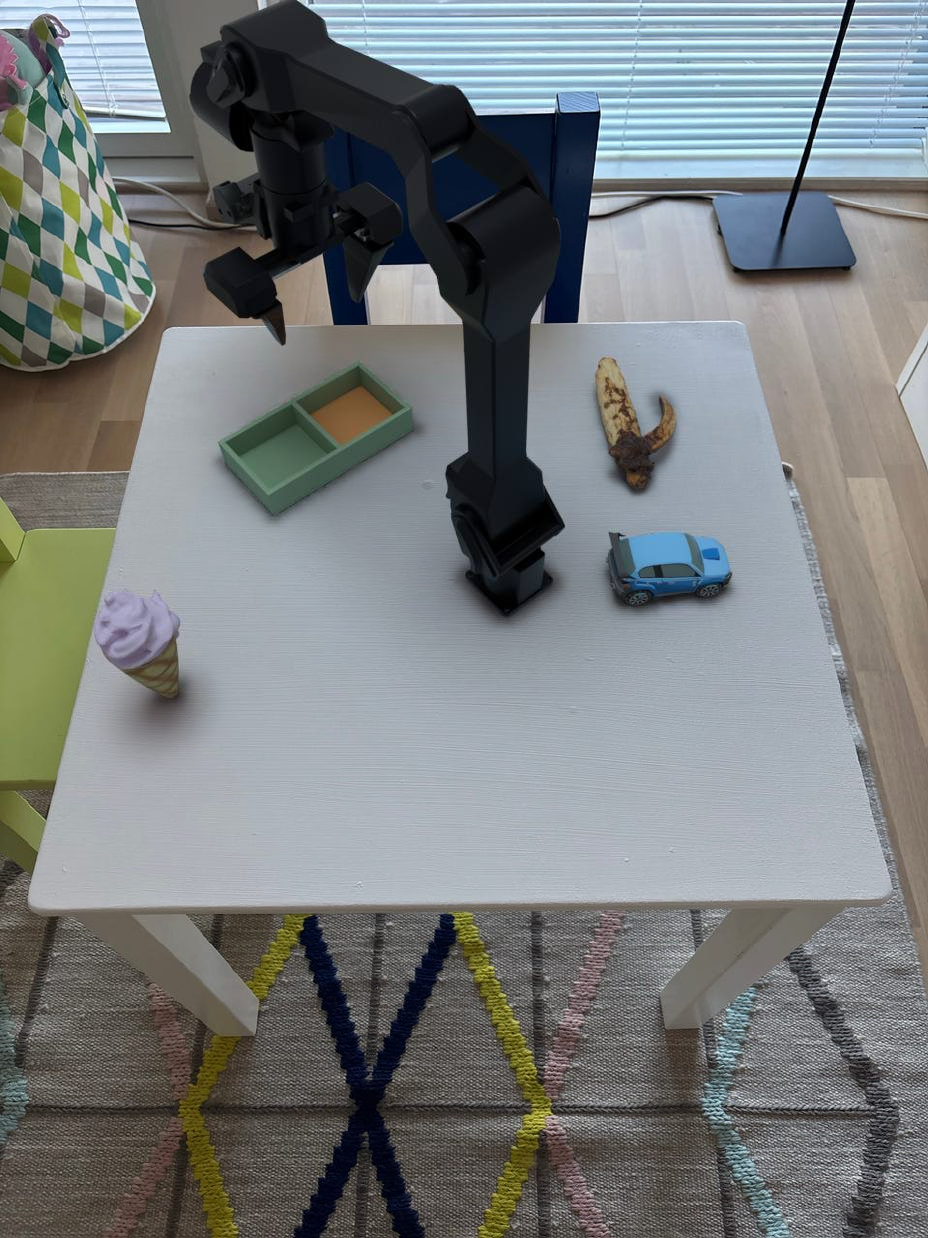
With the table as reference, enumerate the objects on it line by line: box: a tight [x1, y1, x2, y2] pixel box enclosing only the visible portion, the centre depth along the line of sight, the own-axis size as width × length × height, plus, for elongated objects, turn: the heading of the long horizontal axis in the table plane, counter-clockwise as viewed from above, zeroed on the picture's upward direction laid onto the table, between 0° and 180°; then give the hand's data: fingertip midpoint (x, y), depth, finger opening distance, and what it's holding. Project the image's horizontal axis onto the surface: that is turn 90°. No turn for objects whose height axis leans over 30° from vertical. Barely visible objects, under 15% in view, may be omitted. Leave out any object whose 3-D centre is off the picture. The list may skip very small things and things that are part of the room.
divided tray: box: [217, 360, 415, 516], centre depth 100 cm, size 10×19×3 cm, turn 130°
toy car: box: [605, 531, 733, 606], centre depth 89 cm, size 6×12×6 cm, turn 96°
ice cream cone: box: [93, 588, 181, 699], centre depth 79 cm, size 7×6×15 cm
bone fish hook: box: [594, 357, 677, 489], centre depth 100 cm, size 9×5×18 cm
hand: (319, 321), depth 90 cm, fingers open, 9 cm apart
